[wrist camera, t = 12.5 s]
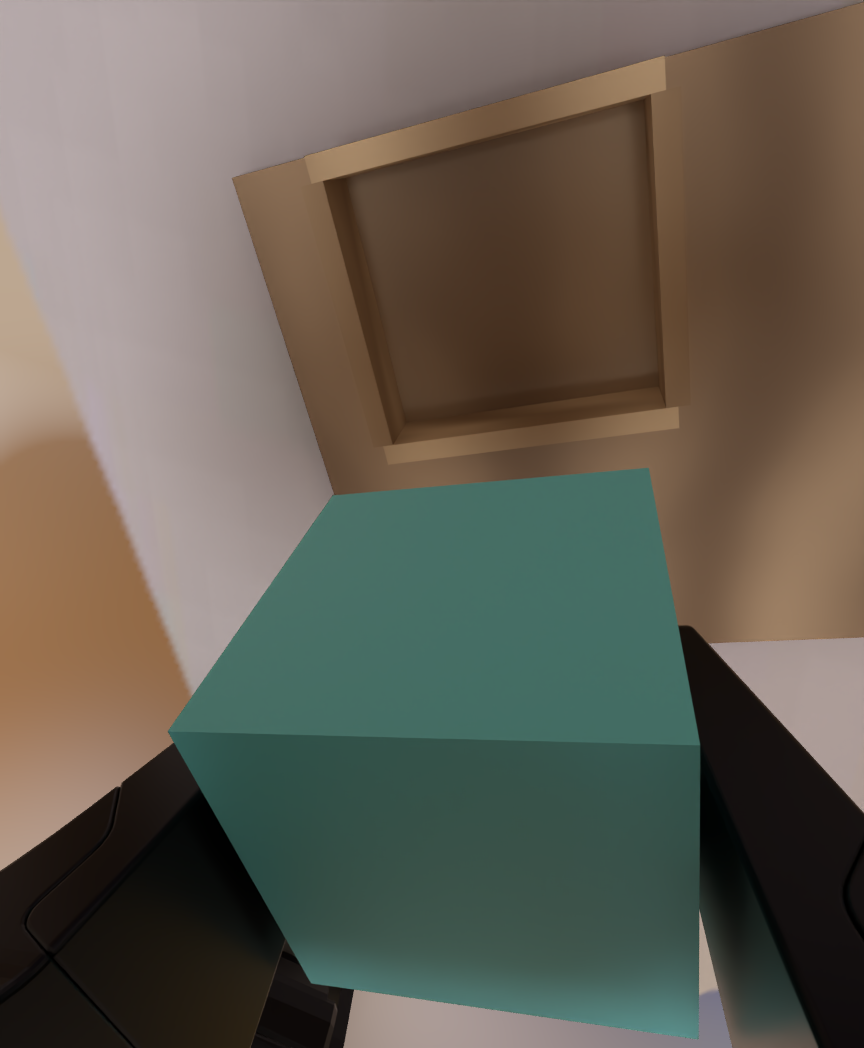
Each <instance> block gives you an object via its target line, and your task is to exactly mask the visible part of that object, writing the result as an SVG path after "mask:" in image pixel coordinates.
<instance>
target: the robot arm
mask: <svg viewBox="0 0 864 1048" xmlns="http://www.w3.org/2000/svg"><path fill="white" fill-rule="evenodd" d="M678 628H679V633H680V639H681V644H682V650H683V655H684V660H685V666H686V671H687V676H688V682H689V687H690V693H691V698H692V703H693V709H694V714H695V720H696V725H697V730H698V736H699V741H700V874H699V909H700V913H701V918H702V922H703V926H704V930H705V934H706V939H707V943H708V947H709V951H710V956H711V960H712V964H713V968H714V972H715V977H716V981H717V985H718V989H719V993H720V997H721V1002H722V1006H723V1010H724V1014H725V1019H726V1022H727V1027H728V1031H729V1035H730V1040H731V1043H732V1048H864V813H863V811H862V810H861V809H860V808H859V807H858V806H857V805H856V804H855V803H854V802H853V801H852V800H851V798H850V797H849V796H848V795H847V794H846V793H845V792H844V791H843V790H842V789H841V788H840V786H839V785H838V784H837V783H836V782H835V781H834V780H833V779H832V778H831V777H830V776H829V774H828V773H827V772H826V771H825V770H824V769H823V768H822V767H821V766H820V765H819V764H818V763H817V761H816V760H815V759H814V758H813V757H812V756H811V755H810V754H809V753H808V752H807V751H806V749H805V748H804V747H803V746H802V745H801V744H800V743H799V742H798V741H797V740H796V739H795V737H794V736H793V735H792V734H791V733H790V732H789V731H788V730H787V729H786V728H785V727H784V726H783V724H782V723H781V722H780V721H779V720H778V719H777V718H776V717H775V716H774V715H773V714H772V712H771V711H770V710H769V709H768V708H767V707H766V706H765V705H764V704H763V703H762V702H761V700H760V699H759V698H758V697H757V696H756V695H755V694H754V693H753V692H752V691H751V690H750V689H749V687H748V686H747V685H746V684H745V683H744V682H743V681H742V680H741V679H740V678H739V677H738V675H737V674H736V673H735V672H734V671H733V670H732V669H731V668H730V667H729V666H728V665H727V663H726V662H725V661H724V660H723V659H722V658H721V657H720V656H719V655H718V654H717V653H716V652H715V650H714V649H713V648H712V647H711V646H710V645H709V644H708V643H707V642H706V641H705V640H704V638H703V637H702V636H701V635H700V634H699V633H698V632H697V631H696V630H695V629H694V628H693V627H691V626H689V625H678ZM353 992H354V989H347V988H340V987H333V986H327V985H320V984H313V983H311V982H310V980H309V979H308V977H307V975H306V973H305V972H304V970H303V968H302V966H301V965H300V963H299V961H298V959H297V958H296V956H295V954H294V952H293V951H292V949H291V947H290V945H289V944H288V942H287V940H286V938H285V937H284V935H283V933H282V931H281V929H280V928H279V926H278V924H277V922H276V921H275V919H274V917H273V915H272V914H271V912H270V910H269V908H268V907H267V905H266V903H265V901H264V900H263V898H262V896H261V894H260V893H259V891H258V889H257V887H256V886H255V884H254V882H253V880H252V879H251V877H250V875H249V873H248V872H247V870H246V868H245V866H244V865H243V863H242V861H241V859H240V858H239V856H238V854H237V852H236V850H235V849H234V847H233V845H232V843H231V842H230V840H229V838H228V836H227V835H226V833H225V831H224V829H223V828H222V826H221V824H220V822H219V821H218V819H217V817H216V815H215V814H214V812H213V810H212V808H211V807H210V805H209V803H208V801H207V800H206V798H205V796H204V794H203V793H202V791H201V789H200V787H199V786H198V784H197V782H196V780H195V778H194V777H193V775H192V773H191V771H190V770H189V768H188V766H187V764H186V763H185V761H184V759H183V757H182V756H181V754H180V752H179V750H178V749H177V747H176V745H175V743H173V744H171V745H170V746H169V747H168V748H166V749H165V750H164V751H162V752H161V753H160V754H158V755H157V756H156V757H155V758H153V759H152V760H151V761H149V762H148V763H147V764H145V765H144V766H143V767H142V768H140V769H139V770H138V771H136V772H135V773H134V774H132V775H131V776H130V777H128V778H127V779H126V780H125V781H123V782H122V784H121V787H115V788H114V789H113V790H111V791H110V792H109V793H108V794H106V795H105V796H104V797H102V798H101V799H100V800H98V801H97V802H96V803H95V804H93V805H92V806H91V807H89V808H88V809H87V810H85V811H84V812H82V813H81V814H80V815H78V816H77V817H76V818H74V819H73V820H72V821H71V822H69V823H68V824H66V825H65V826H64V827H62V828H61V829H60V830H58V831H57V832H56V833H54V834H53V835H51V836H50V837H49V838H47V839H46V840H44V841H43V842H41V843H40V844H39V845H37V846H36V847H34V848H33V849H31V850H30V851H29V852H27V853H26V854H24V855H23V856H21V857H20V858H19V859H17V860H16V861H14V862H13V863H11V864H10V865H8V866H7V867H5V868H4V869H2V870H1V871H0V1048H343V1046H344V1042H345V1036H346V1030H347V1025H348V1020H349V1013H350V1008H351V1003H352V997H353Z"/></svg>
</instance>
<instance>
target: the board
mask: <svg viewBox="0 0 864 1048" xmlns="http://www.w3.org/2000/svg"><path fill="white" fill-rule="evenodd" d="M232 180H233V183H234V186H235V189H236V192H237V195H238V198H239V201H240V204H241V207H242V210H243V214H244V217H245V220H246V223H247V226H248V229H249V232H250V235H251V238H252V241H253V244H254V248H255V251H256V254H257V257H258V260H259V263H260V266H261V269H262V272H263V275H264V278H265V282H266V285H267V288H268V291H269V294H270V297H271V300H272V303H273V306H274V309H275V312H276V316H277V319H278V322H279V325H280V328H281V331H282V334H283V337H284V340H285V343H286V346H287V350H288V353H289V356H290V359H291V362H292V365H293V368H294V371H295V374H296V377H297V380H298V384H299V387H300V390H301V393H302V396H303V399H304V402H305V405H306V408H307V411H308V414H309V418H310V421H311V424H312V427H313V430H314V433H315V436H316V439H317V442H318V445H319V448H320V452H321V455H322V458H323V461H324V464H325V467H326V470H327V473H328V476H329V479H330V482H331V485H332V489H333V492H334V495H344V494H355V493H367V492H378V491H389V490H401V489H412V488H424V487H435V486H446V485H458V484H469V483H480V482H492V481H503V480H515V479H526V478H537V477H549V476H560V475H572V474H583V473H594V472H606V471H617V470H629V469H640V468H649V472H650V477H651V482H652V488H653V493H654V498H655V504H656V509H657V515H658V520H659V525H660V531H661V536H662V542H663V547H664V552H665V558H666V563H667V569H668V574H669V579H670V585H671V590H672V596H673V601H674V606H675V612H676V617H677V623H678V625H689V626H691V627H693V628H694V629H695V630H696V631H697V632H698V633H699V634H700V635H701V636H702V637H703V638H704V640H705V641H706V642H707V643H726V642H753V641H779V640H805V639H832V638H858V637H864V2H862V3H859V4H855V5H851V6H848V7H844V8H841V9H837V10H833V11H830V12H826V13H823V14H819V15H816V16H812V17H808V18H805V19H801V20H798V21H794V22H790V23H787V24H783V25H780V26H776V27H772V28H769V29H765V30H762V31H758V32H754V33H751V34H747V35H744V36H740V37H737V38H733V39H729V40H726V41H722V42H719V43H715V44H711V45H708V46H704V47H701V48H697V49H693V50H690V51H686V52H683V53H679V54H675V55H672V56H668V57H665V56H661V57H658V58H654V59H650V60H647V61H643V62H640V63H636V64H632V65H629V66H625V67H622V68H618V69H615V70H611V71H607V72H604V73H600V74H597V75H593V76H589V77H586V78H582V79H579V80H575V81H572V82H568V83H564V84H561V85H557V86H554V87H550V88H547V89H543V90H539V91H536V92H532V93H529V94H525V95H521V96H518V97H514V98H511V99H507V100H504V101H500V102H496V103H493V104H489V105H486V106H482V107H478V108H475V109H471V110H468V111H464V112H461V113H457V114H453V115H450V116H446V117H443V118H439V119H435V120H432V121H428V122H425V123H421V124H418V125H414V126H410V127H407V128H403V129H400V130H396V131H393V132H389V133H385V134H382V135H378V136H375V137H371V138H367V139H364V140H360V141H357V142H353V143H350V144H346V145H342V146H339V147H335V148H332V149H328V150H324V151H321V152H317V153H314V154H310V155H307V156H304V158H302V159H298V160H295V161H291V162H288V163H284V164H280V165H277V166H273V167H270V168H266V169H262V170H259V171H255V172H252V173H248V174H244V175H241V176H237V177H234V178H232Z"/></svg>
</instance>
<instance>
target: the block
mask: <svg viewBox="0 0 864 1048" xmlns="http://www.w3.org/2000/svg"><path fill="white" fill-rule="evenodd" d="M168 733H169V734H170V736H171V738H172V740H173V742H174V743H175V745H176V747H177V749H178V750H179V752H180V754H181V756H182V757H183V759H184V761H185V763H186V764H187V766H188V768H189V770H190V771H191V773H192V775H193V777H194V778H195V780H196V782H197V784H198V786H199V787H200V789H201V791H202V793H203V794H204V796H205V798H206V800H207V801H208V803H209V805H210V807H211V808H212V810H213V812H214V814H215V815H216V817H217V819H218V821H219V822H220V824H221V826H222V828H223V829H224V831H225V833H226V835H227V836H228V838H229V840H230V842H231V843H232V845H233V847H234V849H235V850H236V852H237V854H238V856H239V858H240V859H241V861H242V863H243V865H244V866H245V868H246V870H247V872H248V873H249V875H250V877H251V879H252V880H253V882H254V884H255V886H256V887H257V889H258V891H259V893H260V894H261V896H262V898H263V900H264V901H265V903H266V905H267V907H268V908H269V910H270V912H271V914H272V915H273V917H274V919H275V921H276V922H277V924H278V926H279V928H280V929H281V931H282V933H283V935H284V937H285V938H286V940H287V942H288V944H289V945H290V947H291V949H292V951H293V952H294V954H295V956H296V958H297V959H298V961H299V963H300V965H301V966H302V968H303V970H304V972H305V973H306V975H307V977H308V979H309V980H310V982H311V983H313V984H320V985H327V986H333V987H340V988H347V989H354V990H362V991H368V992H375V993H382V994H389V995H396V996H402V997H409V998H416V999H424V1000H430V1001H437V1002H444V1003H451V1004H458V1005H465V1006H471V1007H478V1008H485V1009H492V1010H500V1011H506V1012H513V1013H520V1014H527V1015H533V1016H541V1017H547V1018H554V1019H561V1020H568V1021H575V1022H582V1023H589V1024H595V1025H603V1026H609V1027H616V1028H624V1029H631V1030H637V1031H644V1032H651V1033H658V1034H664V1035H671V1036H678V1037H685V1038H692V1039H699V1038H698V1037H699V1036H698V1035H699V1024H698V1023H699V874H700V741H699V736H698V730H697V725H696V720H695V714H694V709H693V703H692V698H691V693H690V687H689V682H688V676H687V671H686V666H685V660H684V655H683V650H682V644H681V639H680V633H679V628H678V623H677V617H676V612H675V606H674V601H673V596H672V590H671V585H670V579H669V574H668V569H667V563H666V558H665V552H664V547H663V542H662V536H661V531H660V525H659V520H658V515H657V509H656V504H655V498H654V493H653V488H652V482H651V477H650V472H649V468H640V469H629V470H617V471H606V472H594V473H583V474H572V475H560V476H549V477H537V478H526V479H515V480H503V481H492V482H480V483H469V484H458V485H446V486H435V487H424V488H412V489H401V490H389V491H378V492H367V493H355V494H344V495H333V496H332V497H331V499H330V500H329V502H328V503H327V504H326V506H325V507H324V509H323V510H322V512H321V513H320V514H319V516H318V517H317V519H316V520H315V522H314V523H313V524H312V526H311V527H310V529H309V530H308V532H307V533H306V535H305V536H304V537H303V539H302V540H301V542H300V543H299V545H298V546H297V547H296V549H295V550H294V552H293V553H292V555H291V556H290V557H289V559H288V560H287V562H286V563H285V565H284V566H283V567H282V569H281V570H280V572H279V573H278V575H277V576H276V577H275V579H274V580H273V582H272V583H271V585H270V586H269V587H268V589H267V590H266V592H265V593H264V595H263V596H262V597H261V599H260V600H259V602H258V603H257V605H256V606H255V607H254V609H253V610H252V612H251V613H250V615H249V616H248V617H247V619H246V620H245V622H244V623H243V625H242V626H241V627H240V629H239V630H238V632H237V633H236V635H235V636H234V637H233V639H232V640H231V642H230V643H229V645H228V646H227V647H226V649H225V650H224V652H223V653H222V655H221V656H220V657H219V659H218V660H217V662H216V663H215V665H214V666H213V667H212V669H211V670H210V672H209V673H208V675H207V676H206V677H205V679H204V680H203V682H202V683H201V685H200V686H199V687H198V689H197V690H196V692H195V693H194V695H193V696H192V697H191V699H190V700H189V702H188V703H187V705H186V706H185V707H184V709H183V710H182V712H181V713H180V715H179V716H178V717H177V719H176V720H175V722H174V723H173V725H172V726H171V727H170V729H169V730H168Z"/></svg>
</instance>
